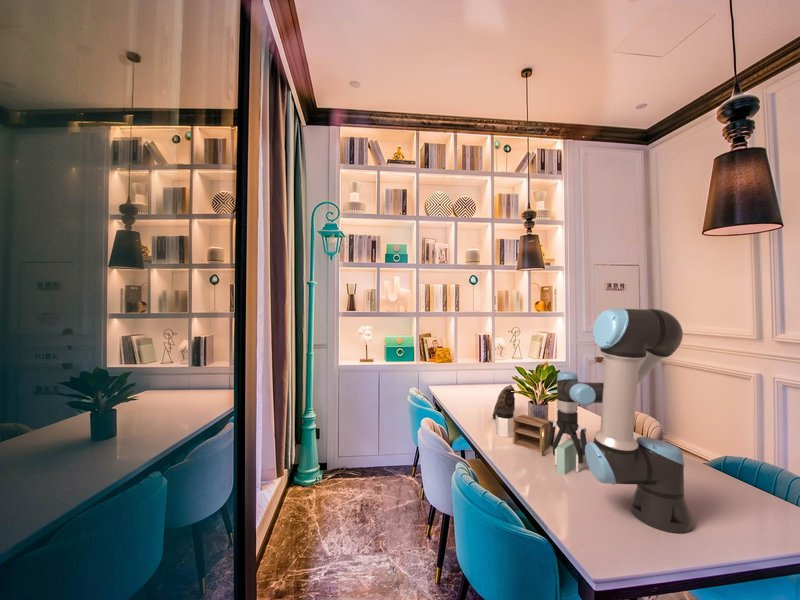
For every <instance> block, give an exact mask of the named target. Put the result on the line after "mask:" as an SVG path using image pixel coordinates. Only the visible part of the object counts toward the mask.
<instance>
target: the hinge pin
mask: <svg viewBox="0 0 800 600" xmlns="http://www.w3.org/2000/svg"><path fill="white" fill-rule="evenodd" d="M545 451H546V450H545V428H542V452H541V456H542V457H546V456H545V455H546V453H545Z"/></svg>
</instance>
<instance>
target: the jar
mask: <svg viewBox="0 0 800 600" xmlns="http://www.w3.org/2000/svg"><path fill="white" fill-rule="evenodd" d="M513 415H514V413H513V412H512V411H511V410H506V409H499V410H497V415H496V420H495V434H496V435H497V436H498V437H500V438H511V437H512V438H513Z"/></svg>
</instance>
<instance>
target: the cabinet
mask: <svg viewBox="0 0 800 600" xmlns="http://www.w3.org/2000/svg"><path fill="white" fill-rule="evenodd" d="M551 421H552V420H550V419H549V420H548V419H546V418H545V419H543V418H540V417H536V416H532V415H527V414H524V413H523V414H521V415H518V416H515V417H514V418H513V437H512V444H513V445H516V446H519V447H523V448H525V449H528V450H532V451H535V452H538V453H542V428H545V451H547V450H548V449H550V448H552V446H551V445H548V440H549V433H550V422H551Z"/></svg>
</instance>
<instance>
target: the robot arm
mask: <svg viewBox="0 0 800 600" xmlns="http://www.w3.org/2000/svg"><path fill="white" fill-rule="evenodd" d="M683 334H684V333H683V327H682V325H681V323H680V322H679V320H678V319H677V318H676V317H675V315H673V314H671V313H669V312H667V311H665V310H662V309H656V308H650V309H648V308H637V309H636V308H613V309H606V310H603V311H602V312H600V314H599V315H597V317H596V319H595V320H594V324H593V328H592V337H593V340H594V343H595V344H596V346H597V347H598V348H600V353H601V354H602V355H603V356H604V358H605V359H604V360H605V361H604V363H605V364H604V377H603V382H589V381H588V382H585V381H584V382H581V381H579V379H578V374H577V373H576V372H572V371H559V372H558V373H557V376H556V377H557V378H556V392H557V393H556V394H557V395H556V397H557V399H556V401H557V402H556V409H557V412H556V417H557V418H556V419H557V420H556V421H555V420H550V421H551V422H550V433H549V440H548V445H551V448H552V455H553V456H554V466H557V446H558V445H560V442H561V439H562V437H563V435H564V434H567V435H569V436H570V438H572V440H573V442H574V445H575V447H576V450H577V452H578V454H576V466H575V471H576V472H577V473H579V472H580V471H581V468H582V467H581V464H583V463H584V460H583V455H584V456H585V459H586V464H587V465H588V466H587V467H588V468H589V471H590V473H591V474H592V476H593V477H594V479H596V480H597V481H598V482H599V483H600V484H601V483H602V484H610V485H614V486H615V485H636V489H635V491H634V494H633V496H632V499H631V502H630V512H631V514H632V515H633V516H634V517H635V518H636V519H638V521H640V522H642V523H644V524H646V525H647V526H650V527H652V528H655V529H658V530H661V531H664V532H667V533H674V534H675V533H677V534H685V533H689V532H691V531H692V529H693V519H692V516H691V514H690V510H689V509H688V506H687V503H686V500H685V475H684V473H685V472H684V471H685V470H684V466H685V461H684V454H683V451H682V450H681V449H680V448H679V447H678V446H676V445H674V444H672V443H670V442H667V441H665V440H661V439H658V438H654V437H650V436H649V437H648V436H638V437H636V439H635V438H634V429H635V419H636V405H637V397H638V396H637V395H638V385H639V383H640V382H641V381H642V380H643V379H645V377H646V376H647V375H648V374H649V373H650V372H651V371H652V370H653V369H654V368H655V366H657V365H658V364H659V363H660V362H661V361H662V359H664V358H668V357H671V356H672V355H673V354H674V353H675V352H676V351H677V349H678V348H679V347H680V345H681V344H682V341H683V337H684V336H683ZM592 404H601V418H600V430H597V431H596V432H595V433H594V437H593V441H589V442H587V436H586V435H587V428H586V427H580V426H579V424H578V420H579V419H578V418H579V416H578V415H579V413H578V406H579V405H582V406H589V405H592ZM556 427H558V432H557V435H556V437H555V433H556ZM577 431H578V433H579V436H580V438H578V434H577ZM578 439H581V445H582V447H581V445H580V442H579V440H578Z"/></svg>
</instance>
